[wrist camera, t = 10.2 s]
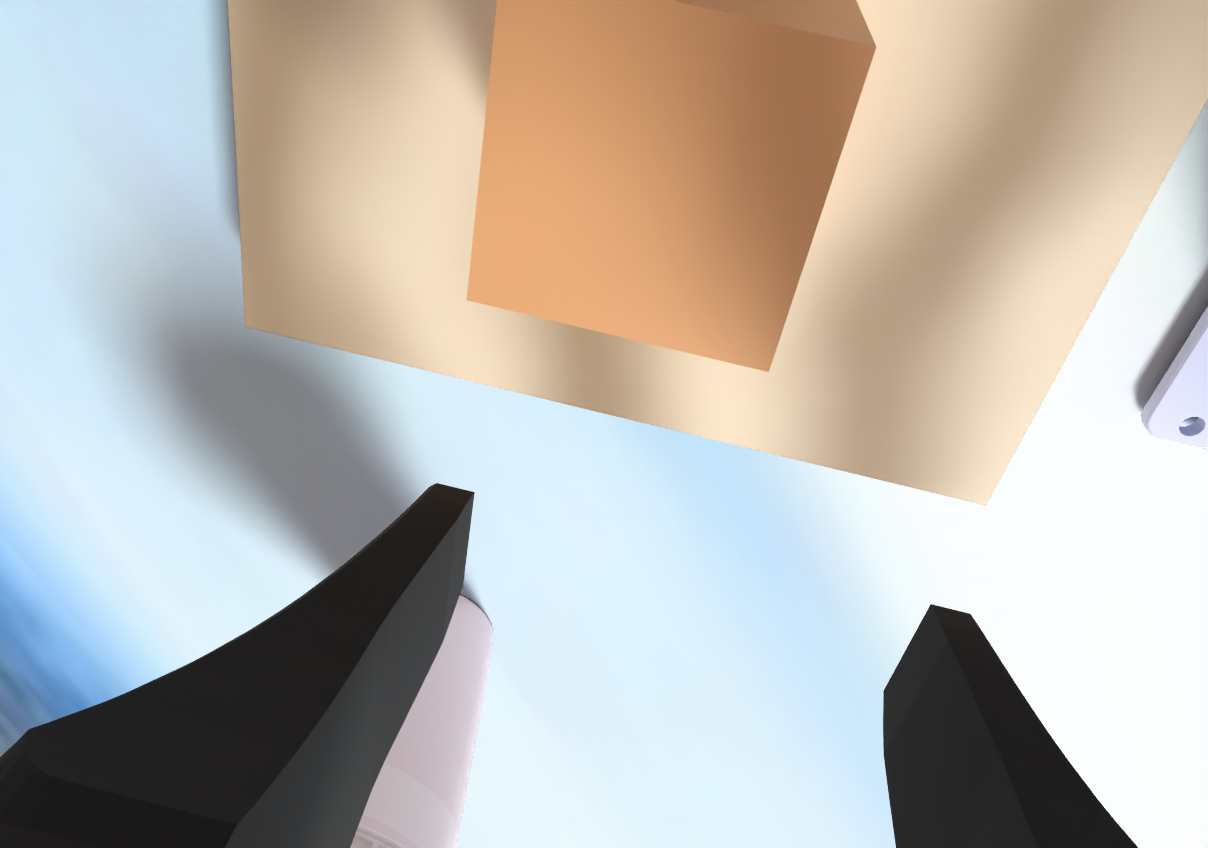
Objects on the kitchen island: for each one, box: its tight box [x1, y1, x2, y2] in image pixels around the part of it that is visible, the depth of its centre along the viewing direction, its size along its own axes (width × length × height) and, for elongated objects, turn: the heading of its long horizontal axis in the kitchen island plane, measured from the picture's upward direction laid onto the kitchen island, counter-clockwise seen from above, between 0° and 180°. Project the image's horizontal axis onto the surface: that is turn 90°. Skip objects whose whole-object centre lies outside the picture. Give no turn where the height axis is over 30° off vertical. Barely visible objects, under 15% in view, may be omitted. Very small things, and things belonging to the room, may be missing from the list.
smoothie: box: [350, 595, 494, 848], centre depth 24 cm, size 6×6×14 cm
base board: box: [228, 0, 1208, 505], centre depth 18 cm, size 18×14×2 cm
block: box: [467, 0, 876, 372], centre depth 15 cm, size 5×5×5 cm
